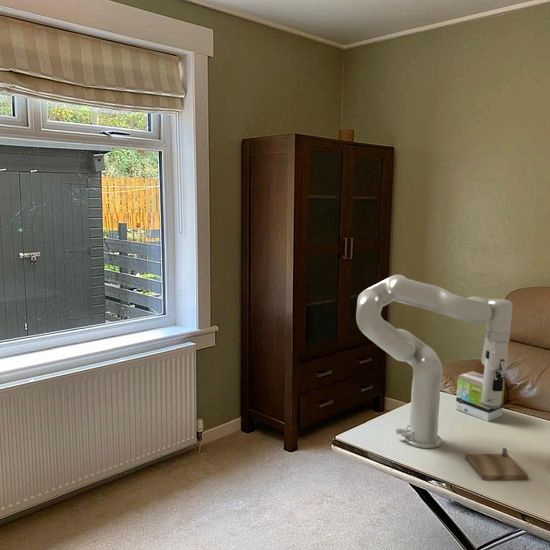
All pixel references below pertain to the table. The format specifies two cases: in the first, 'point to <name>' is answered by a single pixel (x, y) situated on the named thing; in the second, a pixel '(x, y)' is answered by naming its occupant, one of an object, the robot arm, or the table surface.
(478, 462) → the walnut board
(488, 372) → the travel mug
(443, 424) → the table surface
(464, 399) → the tea box
